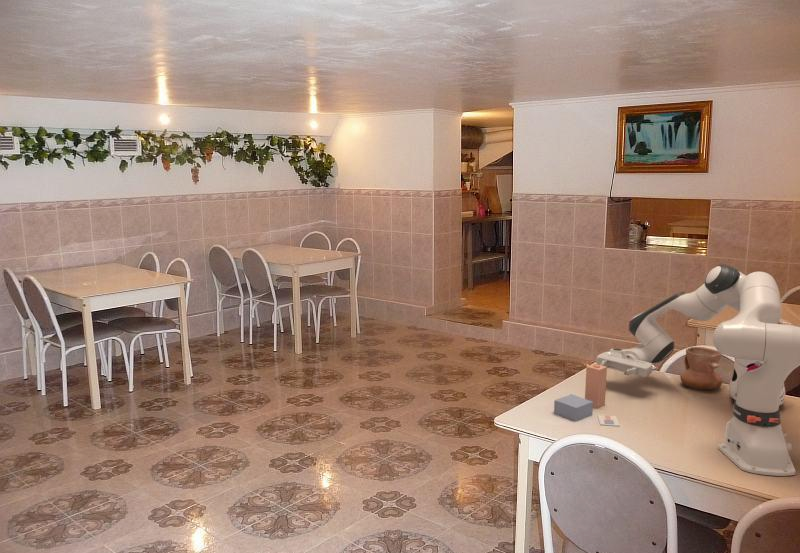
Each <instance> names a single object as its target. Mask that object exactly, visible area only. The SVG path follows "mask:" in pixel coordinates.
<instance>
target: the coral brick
mask: <svg viewBox="0 0 800 553" xmlns="http://www.w3.org/2000/svg"><path fill="white" fill-rule="evenodd" d="M585 369H586V370H585V372H586V373H585V391H584V399H587V400H590V401H592V402H593V408H594V409H600V408H601V407H604V406H605V405H606V390H607V388H606V386H607V371H608V368H607V367H606V366H602V365H598V364H596V363H592V364H590V365H587V366H586V368H585Z"/></svg>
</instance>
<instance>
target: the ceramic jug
mask: <svg viewBox="0 0 800 553" xmlns="http://www.w3.org/2000/svg"><path fill="white" fill-rule="evenodd" d="M721 357H722V354H720V353H719V352H718V350H717V349H713V348H708V347H704V346H689V347H688V346H687V347H686V348H685V356H684V358H683V364H684V369H685V370H684V371H682V372H681V374H680V381H681V383H683V384H684V385H685V386H687V387H689V388H692V389H695V390H700V391H711V390H716V389H718V388H719V387H721V386H722V384H723V378H722V376H721V375H720V374H718V373H716V371H715V369H717V368H720V364H719V362H720V360H721Z"/></svg>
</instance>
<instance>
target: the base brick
mask: <svg viewBox="0 0 800 553" xmlns="http://www.w3.org/2000/svg"><path fill="white" fill-rule="evenodd" d="M553 402H554V404H553V406H554V407H553V413H554V414H555V415H558V416H559V417H562V418H565V419H568V420H570V421H573V422H574V423H575V422H578V421H581V420H584V419H586V418H588V417H591V416H594V415H593V411H594V409H593V402H592V401H590V400H587V399H585V397H581V396H577V395H574V394H568V395H565V396H561V397H560V398H557V399H554V401H553Z"/></svg>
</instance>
